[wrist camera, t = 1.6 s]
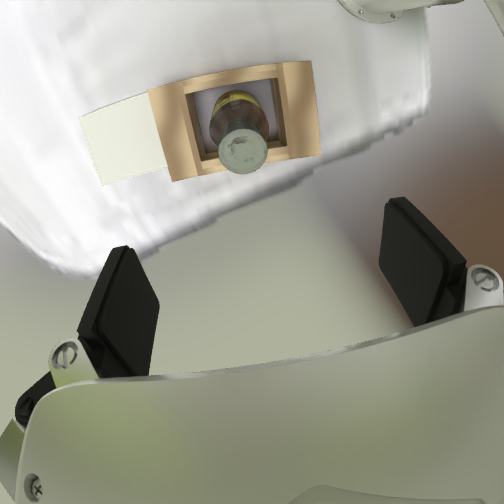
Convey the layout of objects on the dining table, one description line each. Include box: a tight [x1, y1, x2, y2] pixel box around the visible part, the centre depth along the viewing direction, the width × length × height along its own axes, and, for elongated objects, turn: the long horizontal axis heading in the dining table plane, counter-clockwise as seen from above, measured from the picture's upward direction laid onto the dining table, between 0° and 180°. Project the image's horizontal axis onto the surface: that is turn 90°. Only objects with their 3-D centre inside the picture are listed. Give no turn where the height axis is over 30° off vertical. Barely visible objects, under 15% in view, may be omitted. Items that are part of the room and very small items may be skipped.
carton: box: [147, 61, 321, 182], centre depth 35 cm, size 20×13×7 cm, turn 99°
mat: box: [79, 92, 168, 186], centre depth 38 cm, size 12×12×1 cm
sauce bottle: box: [209, 90, 269, 174], centre depth 30 cm, size 7×6×20 cm
